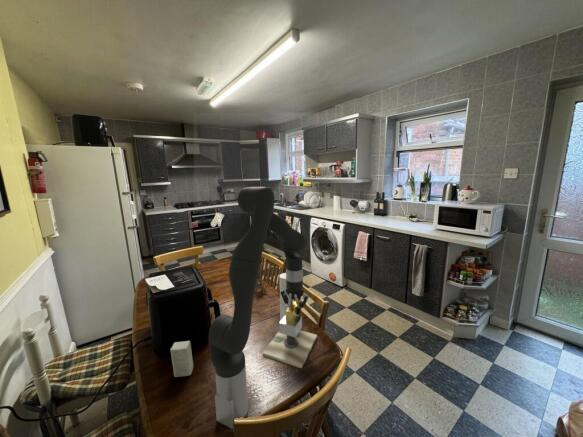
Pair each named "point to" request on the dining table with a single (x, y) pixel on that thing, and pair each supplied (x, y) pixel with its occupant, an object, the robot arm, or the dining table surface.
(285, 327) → the coupling
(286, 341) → the post base
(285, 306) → the tall white block
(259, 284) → the eiffel tower
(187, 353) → the skincare box
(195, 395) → the dining table surface
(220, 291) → the dining table surface
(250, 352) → the dining table surface
